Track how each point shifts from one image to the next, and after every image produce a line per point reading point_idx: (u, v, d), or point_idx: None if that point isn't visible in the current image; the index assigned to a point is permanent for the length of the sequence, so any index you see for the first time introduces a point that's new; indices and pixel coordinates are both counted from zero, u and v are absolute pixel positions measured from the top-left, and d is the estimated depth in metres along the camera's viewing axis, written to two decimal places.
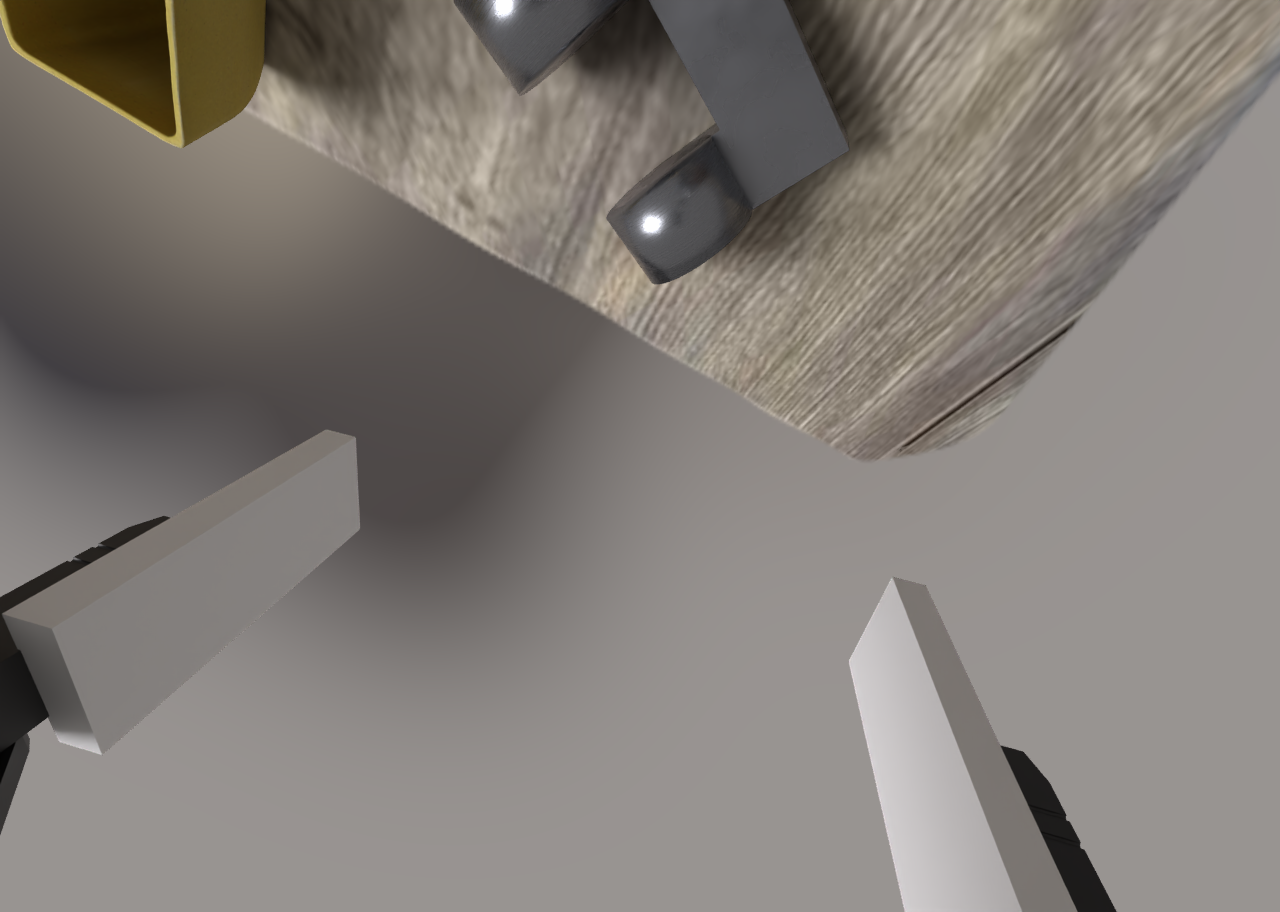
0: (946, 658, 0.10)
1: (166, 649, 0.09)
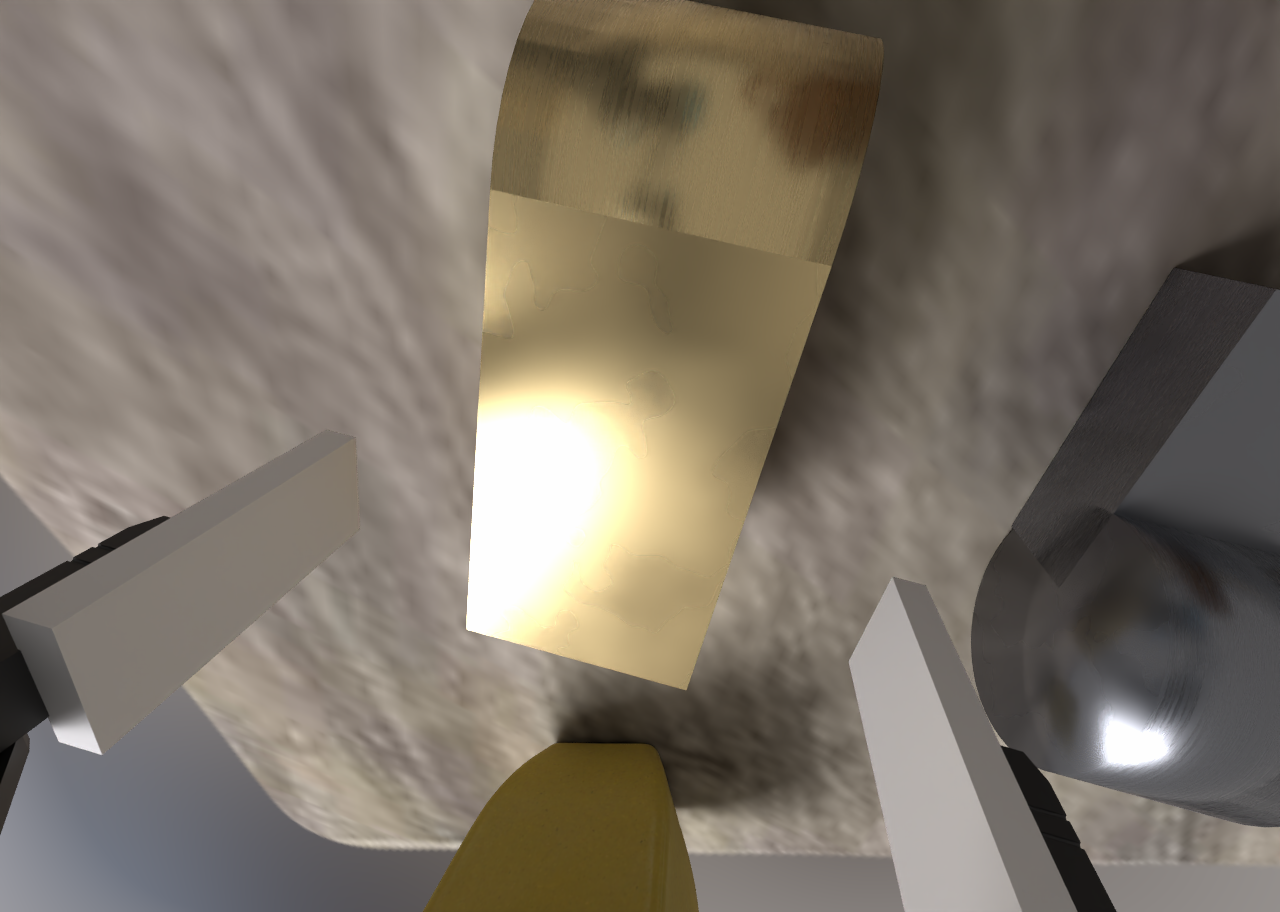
0: (946, 658, 0.10)
1: (166, 649, 0.09)
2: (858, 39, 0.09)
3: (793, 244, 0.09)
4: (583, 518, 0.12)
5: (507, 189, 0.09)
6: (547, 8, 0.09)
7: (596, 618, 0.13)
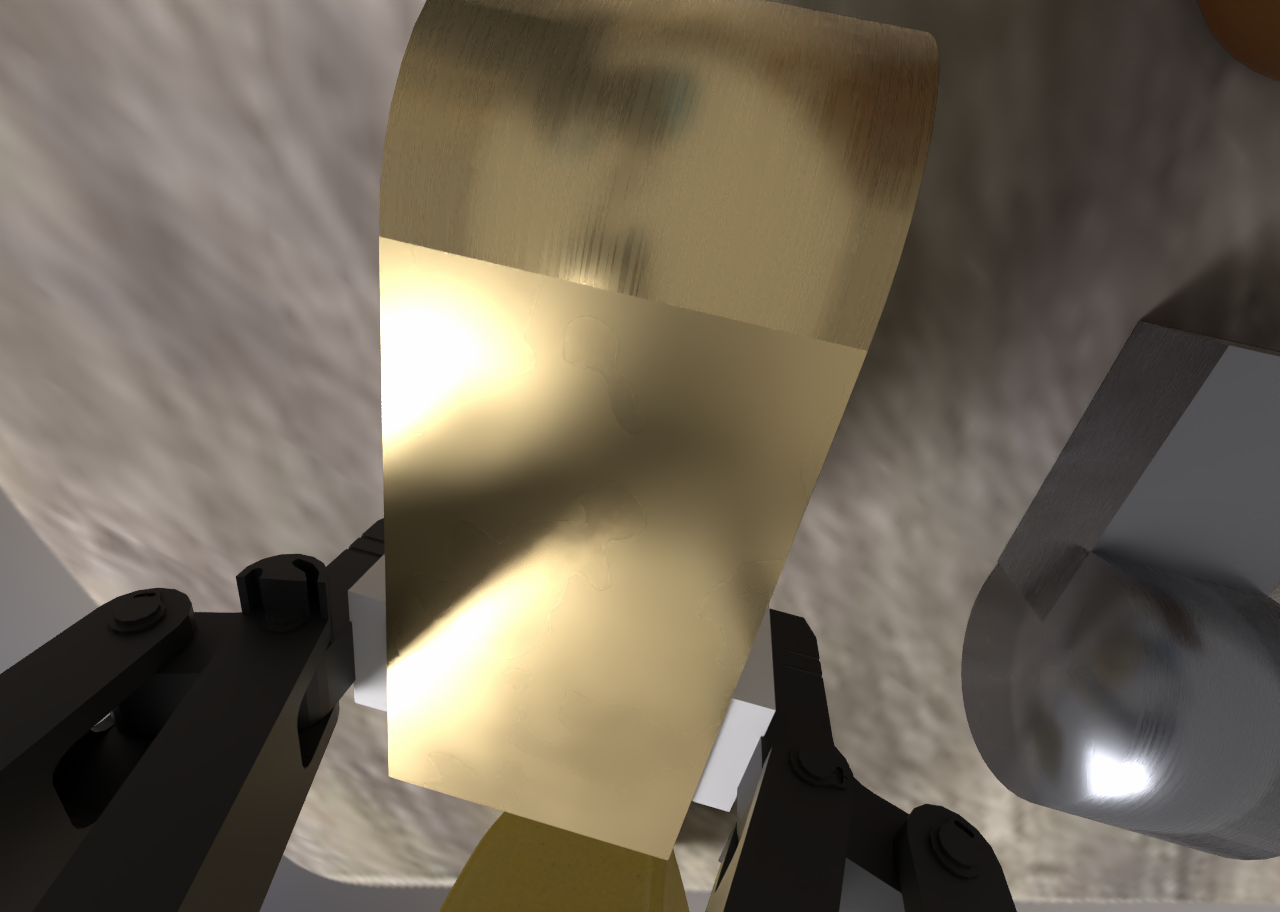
0: None
1: None
2: (899, 31, 0.06)
3: (812, 320, 0.06)
4: (528, 659, 0.09)
5: (403, 237, 0.06)
6: None
7: (551, 773, 0.10)
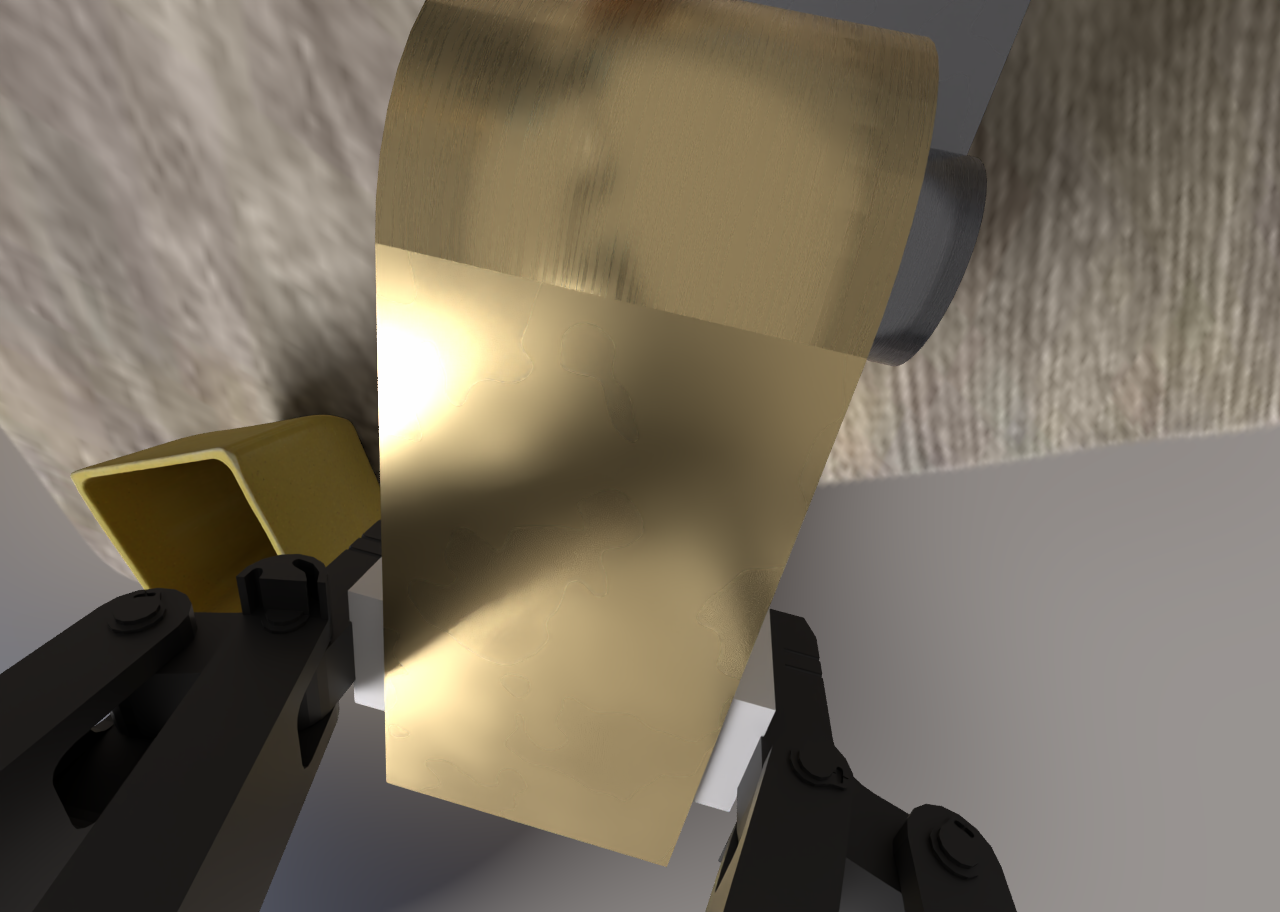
0: None
1: None
2: (899, 36, 0.06)
3: (811, 327, 0.06)
4: (527, 666, 0.09)
5: (399, 243, 0.06)
6: None
7: (549, 779, 0.10)
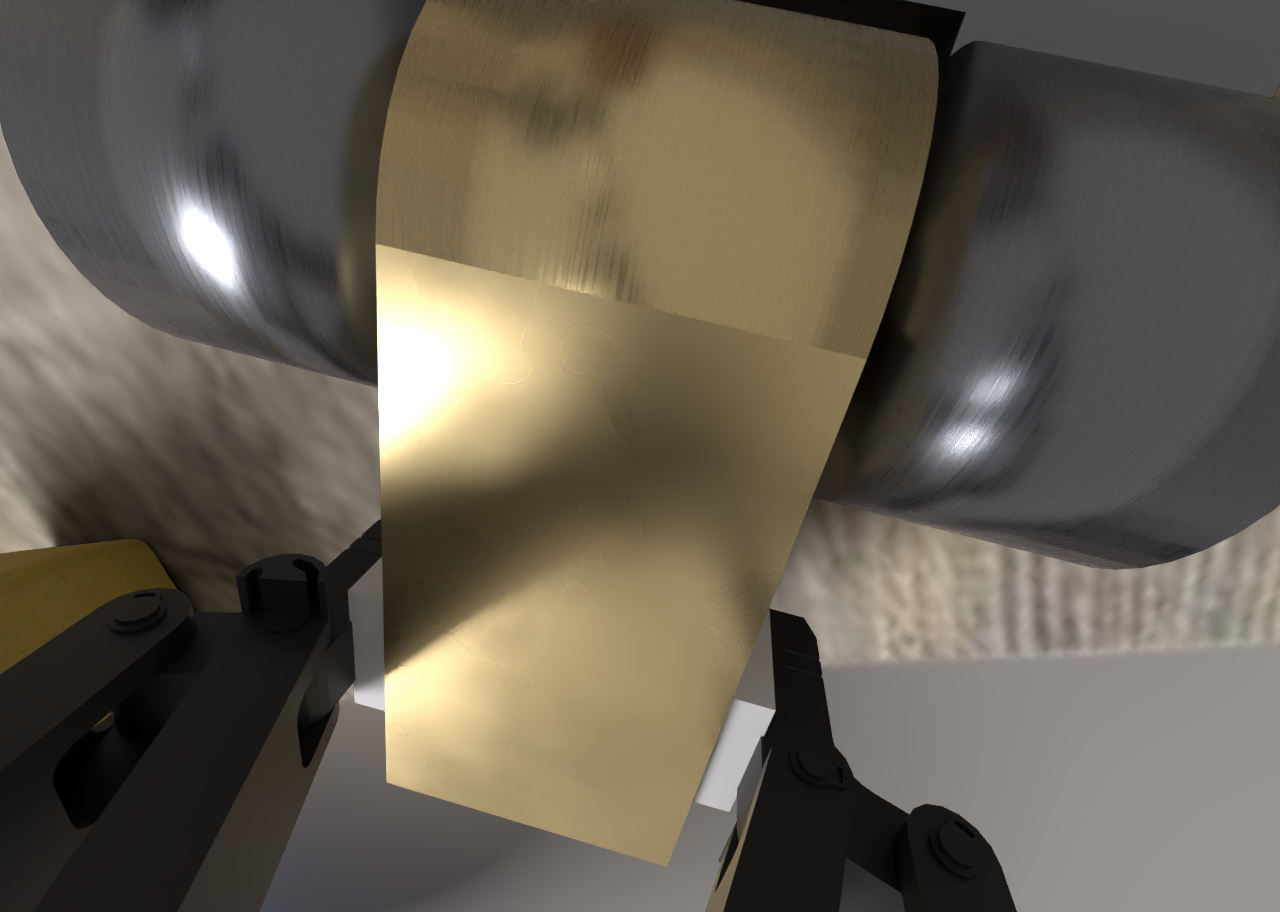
0: None
1: None
2: (899, 37, 0.06)
3: (811, 328, 0.06)
4: (527, 665, 0.09)
5: (399, 244, 0.06)
6: None
7: (549, 779, 0.10)
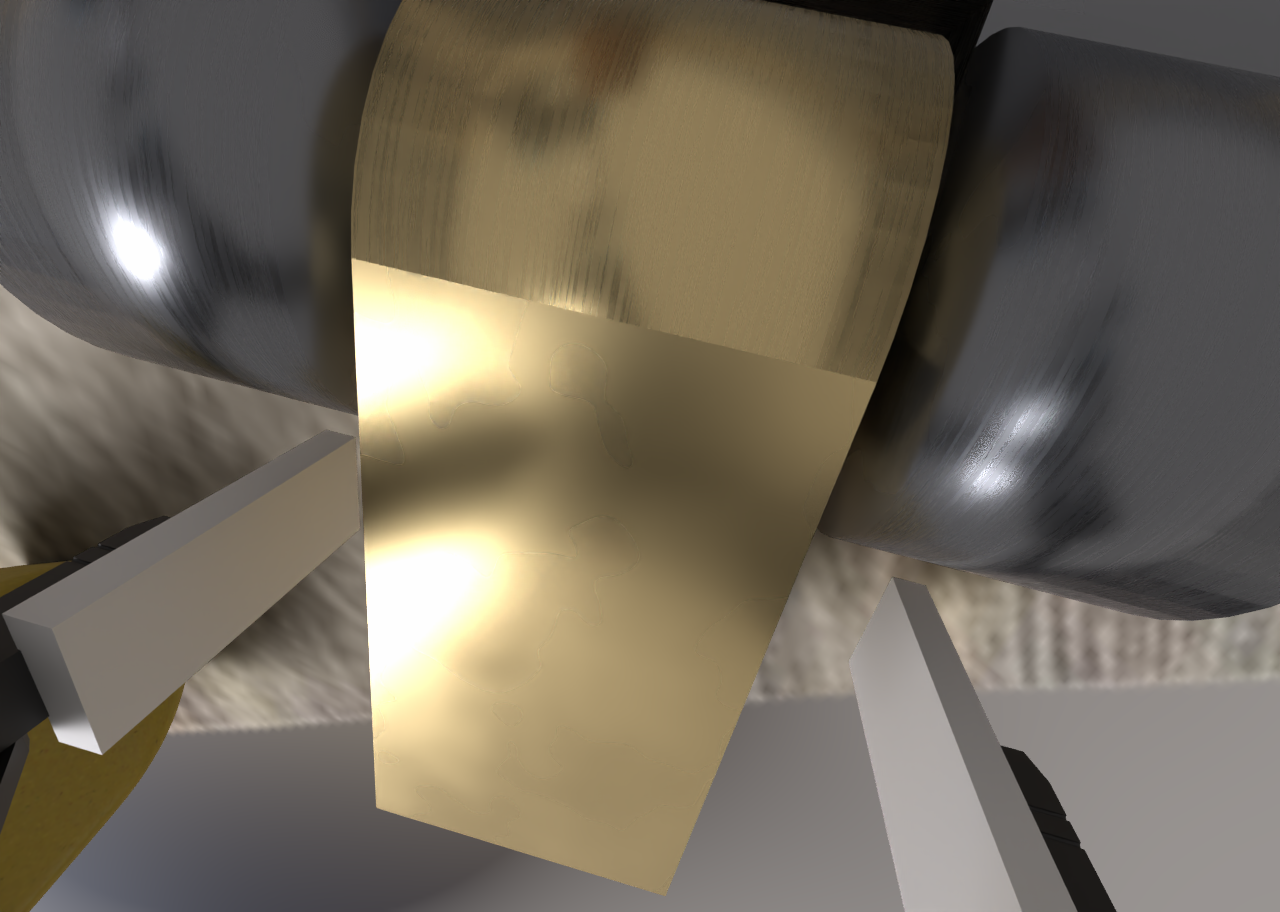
0: (946, 658, 0.10)
1: (166, 649, 0.09)
2: (911, 35, 0.06)
3: (816, 349, 0.05)
4: (518, 694, 0.08)
5: (376, 259, 0.06)
6: None
7: (543, 808, 0.09)
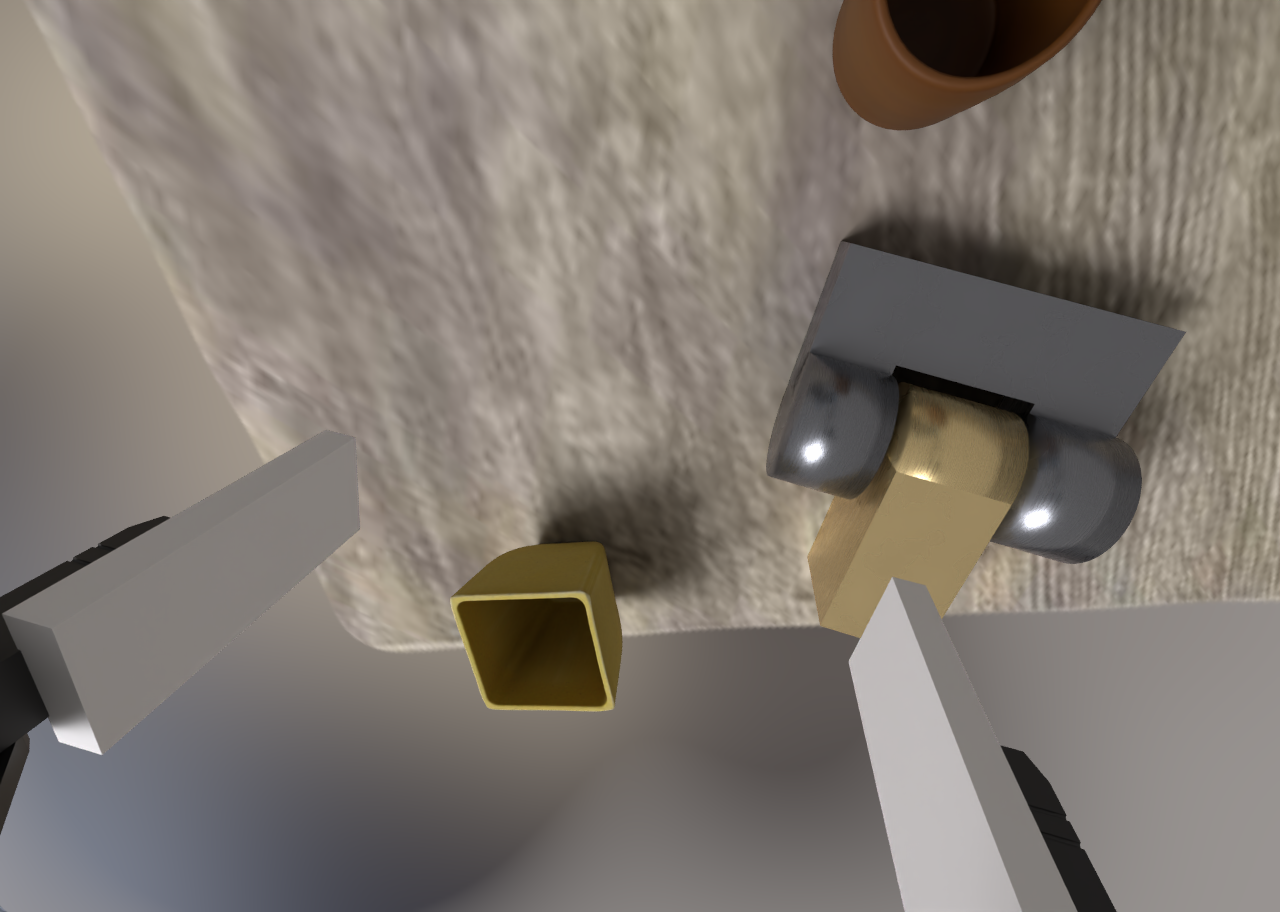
0: (946, 658, 0.10)
1: (166, 649, 0.09)
2: (1018, 426, 0.27)
3: (999, 497, 0.26)
4: None
5: (902, 472, 0.27)
6: (918, 414, 0.27)
7: None
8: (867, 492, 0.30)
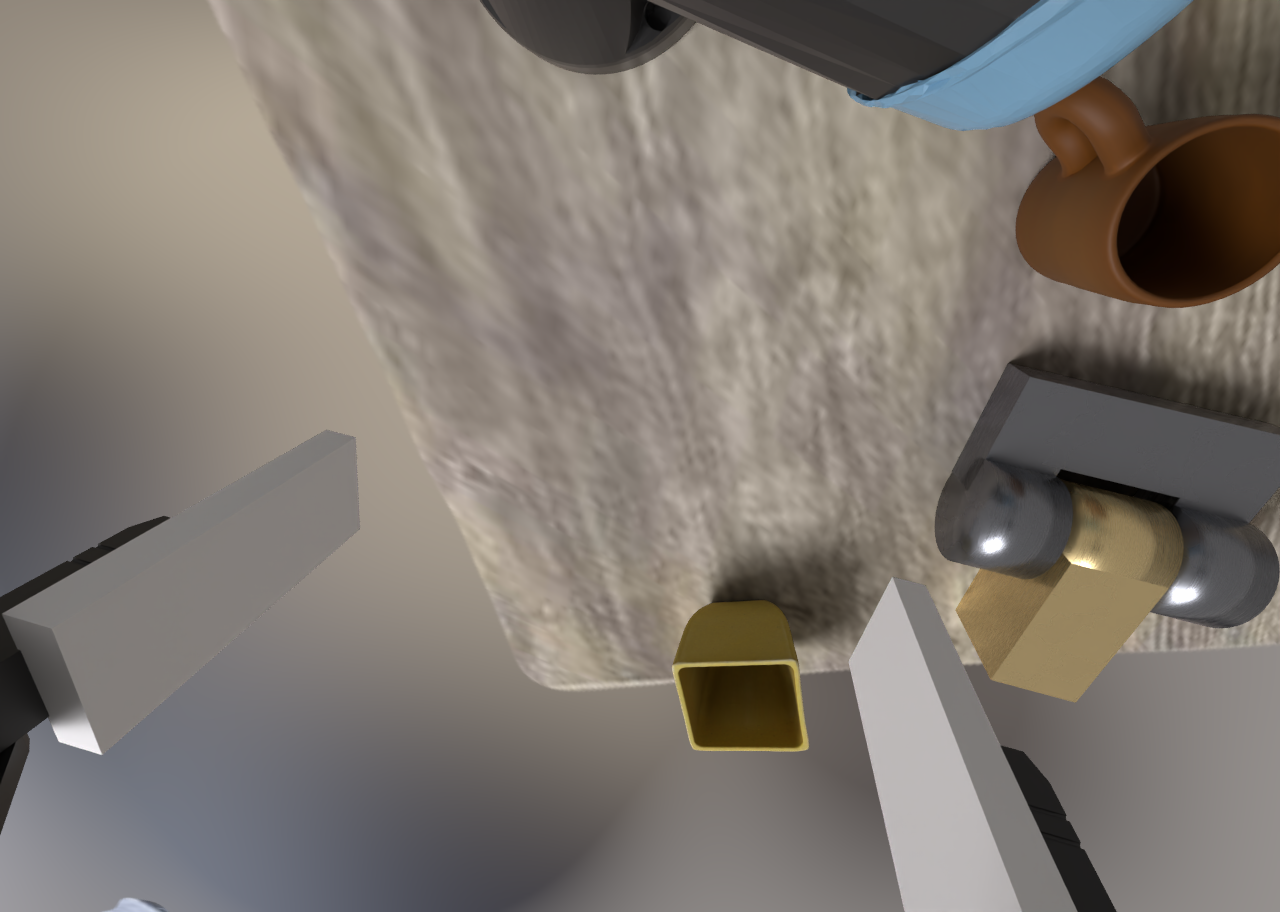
0: (946, 658, 0.10)
1: (166, 649, 0.09)
2: (1171, 521, 0.33)
3: (1159, 582, 0.32)
4: (1060, 645, 0.35)
5: (1076, 563, 0.33)
6: (1089, 516, 0.33)
7: (1049, 676, 0.36)
8: None
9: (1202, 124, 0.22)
